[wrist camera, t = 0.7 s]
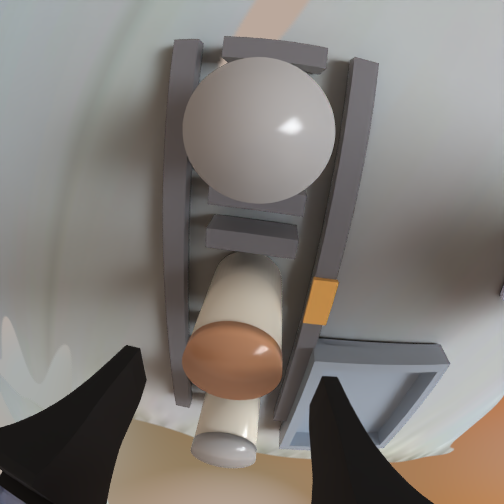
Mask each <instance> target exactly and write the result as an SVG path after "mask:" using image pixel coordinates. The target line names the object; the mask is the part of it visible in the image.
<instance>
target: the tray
mask: <svg viewBox="0 0 504 504" xmlns="http://www.w3.org/2000/svg"><path fill="white" fill-rule="evenodd" d="M449 365H450V362H449V360H448V358H447V356H446V354H445V352H444V350H443V348H442V346H441V345H440V344H398V343H377V342H361V341H347V340H334V339H323V338H318V341H317V344H316V346H315V348H313V351H312V354H311V357H310V360H309V362H308V365H307V368H306V371H305V374H304V376H303V379H302V382H301V385H300V387H299V390H298V393H297V395H296V398H295V401H294V403H293V406H292V408H291V411H290V413H289V416H288V418H287V421H283V423H282V425H281V428H280V436H279V449H294V450H311V448H310V436H309V405H310V403H311V400H312V398H313V396H314V394H315V391H316V389H317V387H318V384H319V382H320V380H321V377H322V376H334V377H338V379H339V381H340V383H341V385H342V387H343V389H344V391H345V393H346V395H347V397H348V399H349V401H350V403H351V405H352V407H353V409H354V411H355V413H356V414H357V416H358V418H359V420H360V421H361V423H362V425H363V427H364V428H365V430H366V431H367V433H368V435H369V436H370V438H371V439H372V441H373V442H374V444H375V445H376V446H377V448H384V447H385V446H386V445H387V444H388V443H389V442H390V441H391V439H392V438H393V437H394V436H395V435H396V434H397V433H398V432H399V431H400V429H401V428H402V427H403V426H404V425H405V424H406V422H407V421H408V420H409V419H410V418H411V417H412V415H413V414H414V413H415V412H416V410H417V409H418V408H419V407H420V405H421V404H422V403H423V402H424V400H425V399H426V398H427V396H428V395H429V394H430V392H431V391H432V390H433V388H434V387H435V386H436V384H437V383H438V381H439V380H440V379H441V377H442V376H443V374H444V373H445V371H446V370H447V368H448V367H449Z"/></svg>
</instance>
